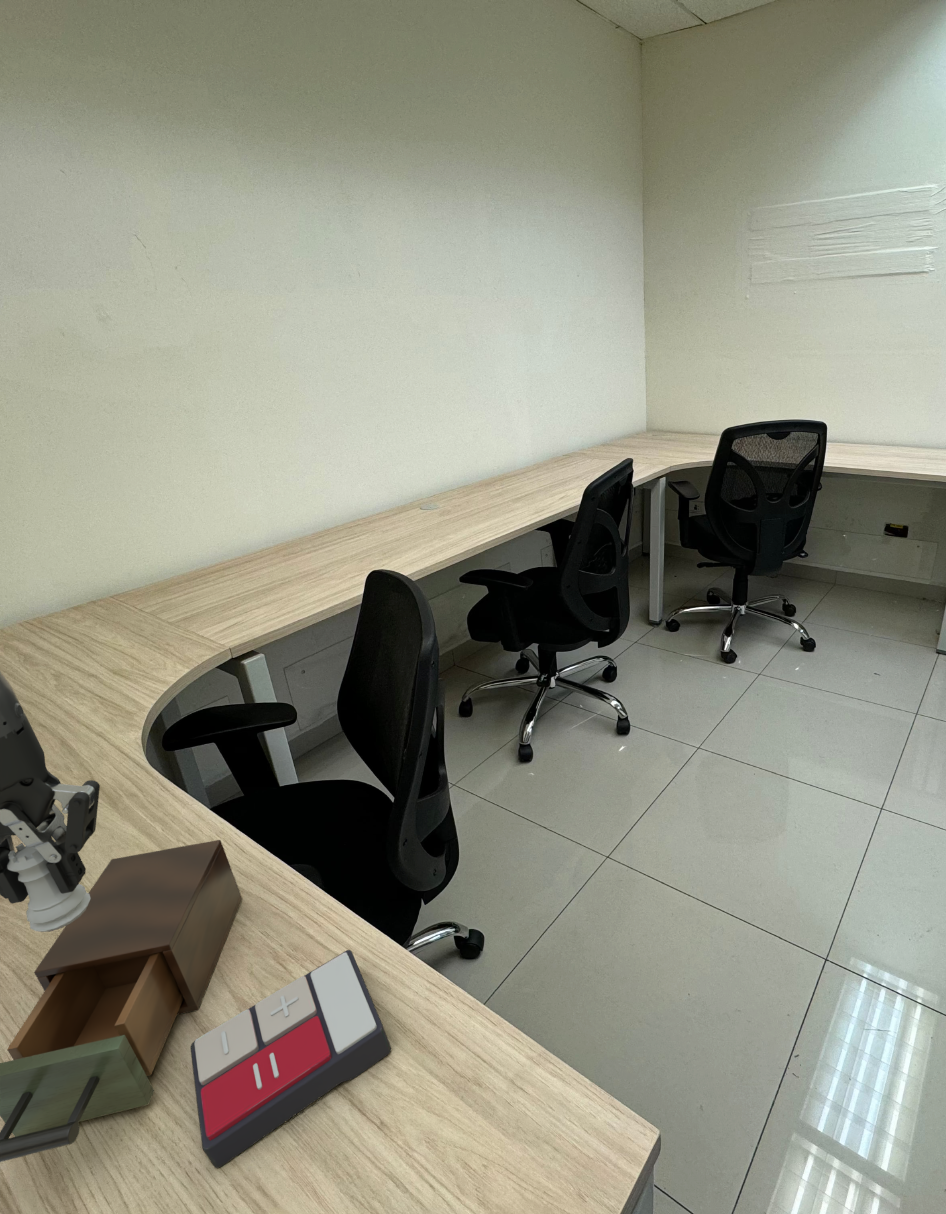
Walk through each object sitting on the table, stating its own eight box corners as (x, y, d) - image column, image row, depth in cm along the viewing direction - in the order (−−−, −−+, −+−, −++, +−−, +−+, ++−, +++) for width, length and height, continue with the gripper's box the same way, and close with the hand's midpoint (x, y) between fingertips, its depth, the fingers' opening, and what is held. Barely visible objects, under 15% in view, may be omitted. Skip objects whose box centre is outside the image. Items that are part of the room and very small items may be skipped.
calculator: (186, 1038, 58) (348, 942, 66) (202, 1065, 60) (358, 969, 68) (198, 1147, 50) (382, 1023, 58) (217, 1176, 52) (393, 1051, 59)
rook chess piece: (100, 907, 58) (67, 841, 55) (41, 943, 55) (2, 875, 52) (82, 887, 61) (49, 823, 57) (24, 921, 57) (-15, 855, 54)
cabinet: (198, 1010, 64) (168, 944, 61) (72, 1038, 62) (33, 972, 58) (242, 898, 78) (220, 839, 74) (139, 919, 75) (111, 858, 72)
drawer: (121, 1169, 51) (86, 1112, 48) (-25, 1208, 49) (-71, 1151, 46) (204, 969, 68) (182, 917, 65) (97, 992, 66) (69, 940, 63)
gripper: (-188, 776, 45) (-74, 944, 52) (35, 741, 48) (116, 905, 54) (-105, 721, 52) (-14, 876, 58) (87, 693, 54) (153, 844, 61)
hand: (48, 889), depth 56 cm, fingers closed on rook chess piece, 3 cm apart
